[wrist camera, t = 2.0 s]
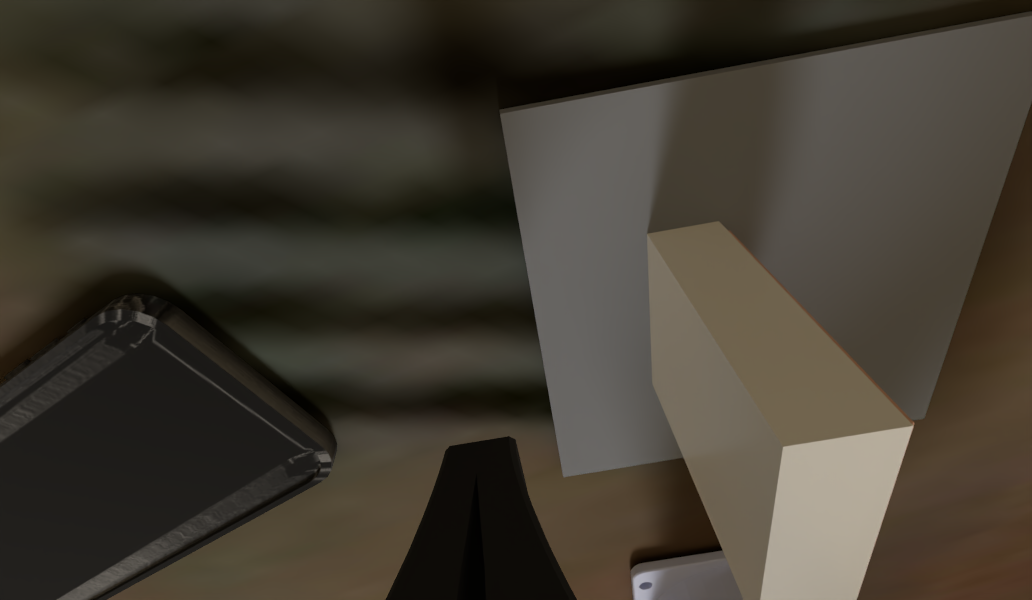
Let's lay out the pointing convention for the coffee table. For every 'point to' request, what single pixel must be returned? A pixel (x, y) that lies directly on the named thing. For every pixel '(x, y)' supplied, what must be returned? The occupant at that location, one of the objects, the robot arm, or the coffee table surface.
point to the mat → (767, 210)
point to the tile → (769, 419)
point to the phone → (139, 451)
